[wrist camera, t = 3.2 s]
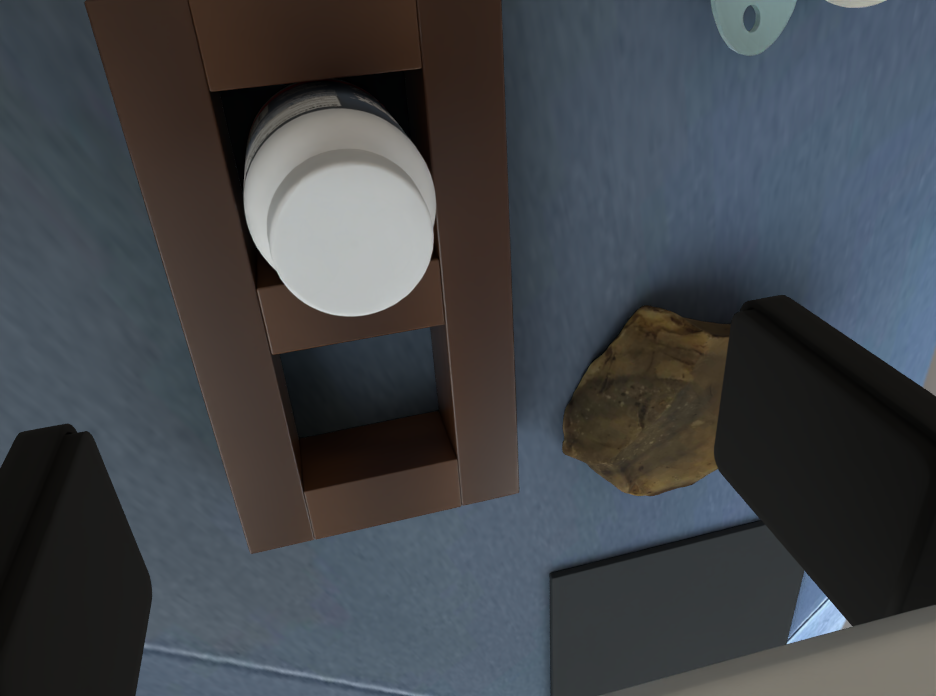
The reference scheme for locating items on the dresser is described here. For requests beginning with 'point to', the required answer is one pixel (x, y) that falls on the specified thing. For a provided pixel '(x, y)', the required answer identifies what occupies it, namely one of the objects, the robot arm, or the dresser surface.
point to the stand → (258, 284)
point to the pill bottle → (338, 198)
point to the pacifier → (761, 21)
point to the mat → (670, 610)
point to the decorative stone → (651, 404)
